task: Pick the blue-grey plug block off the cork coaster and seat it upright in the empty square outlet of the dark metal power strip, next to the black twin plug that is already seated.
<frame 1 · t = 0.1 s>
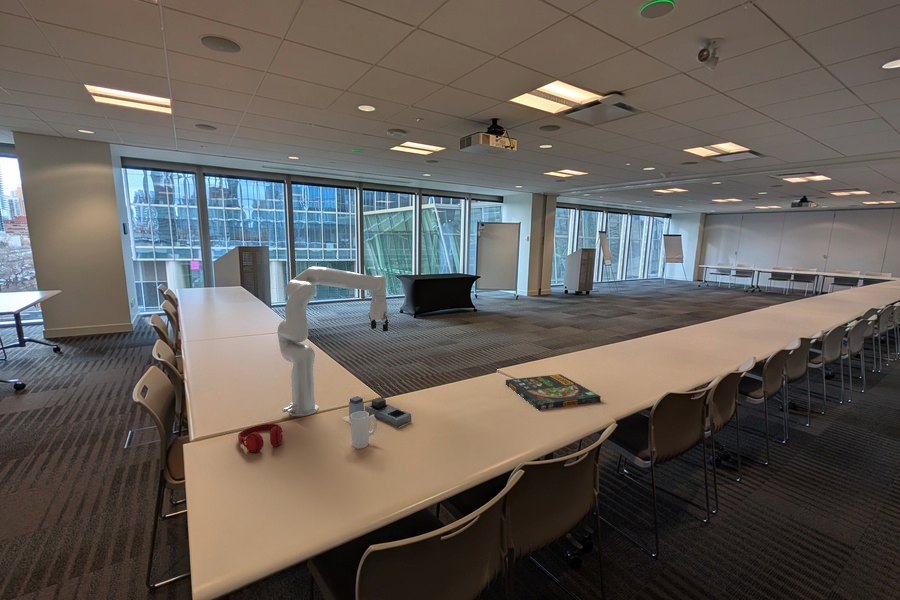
hand: (379, 329, 204), 31 cm above the table, fingers open, 9 cm apart
mug: (364, 444, 146), on the table
pdu strip: (387, 417, 169), on the table
pizza box: (550, 394, 200), on the table
headphones: (261, 441, 147), on the table
coaster: (356, 418, 167), on the table
plug: (356, 408, 166), on the coaster
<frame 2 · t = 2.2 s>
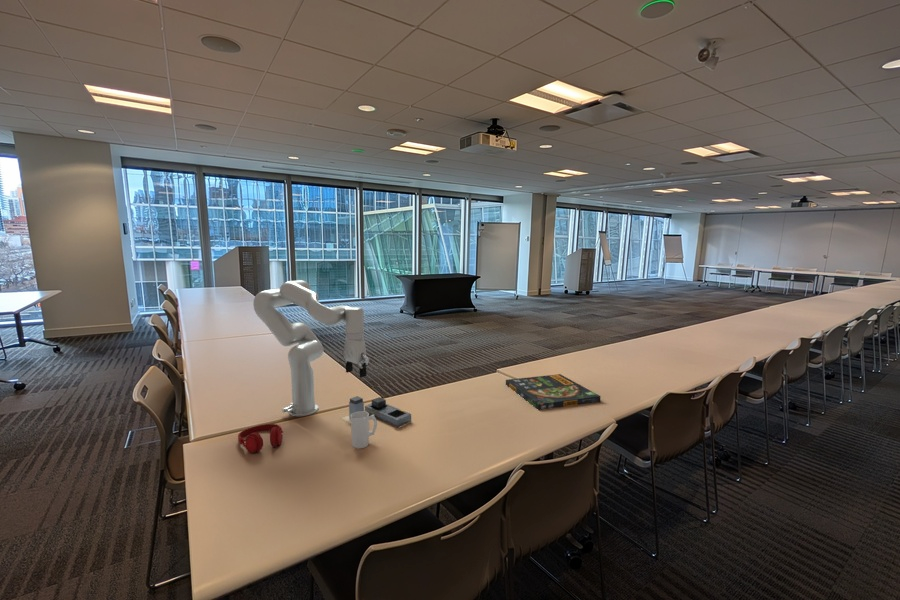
hand: (356, 374, 164), 20 cm above the table, fingers open, 9 cm apart
nothing on the table moved.
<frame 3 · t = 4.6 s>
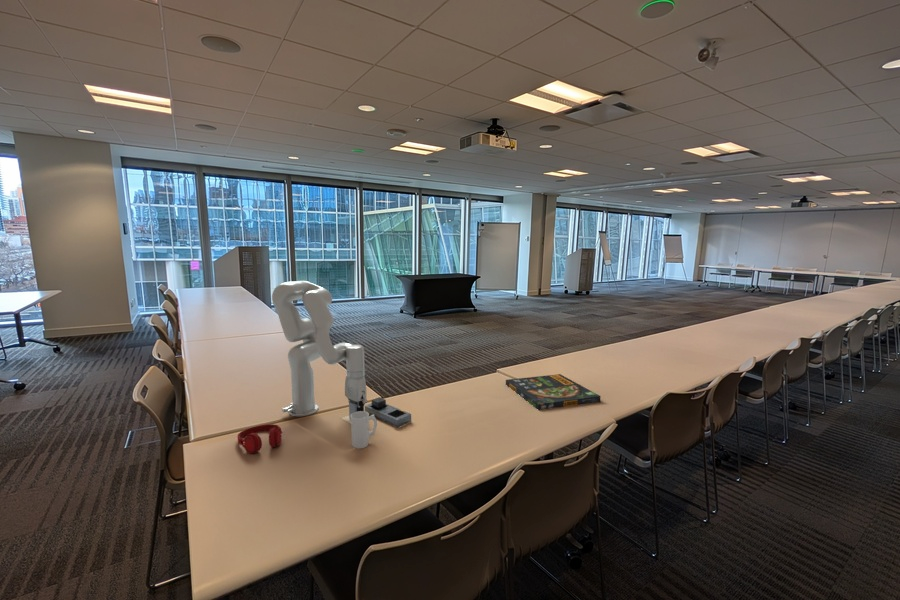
hand: (356, 412, 167), 3 cm above the table, fingers closed on plug, 4 cm apart
plug: (356, 408, 166), on the coaster, touching gripper
everything else where it was.
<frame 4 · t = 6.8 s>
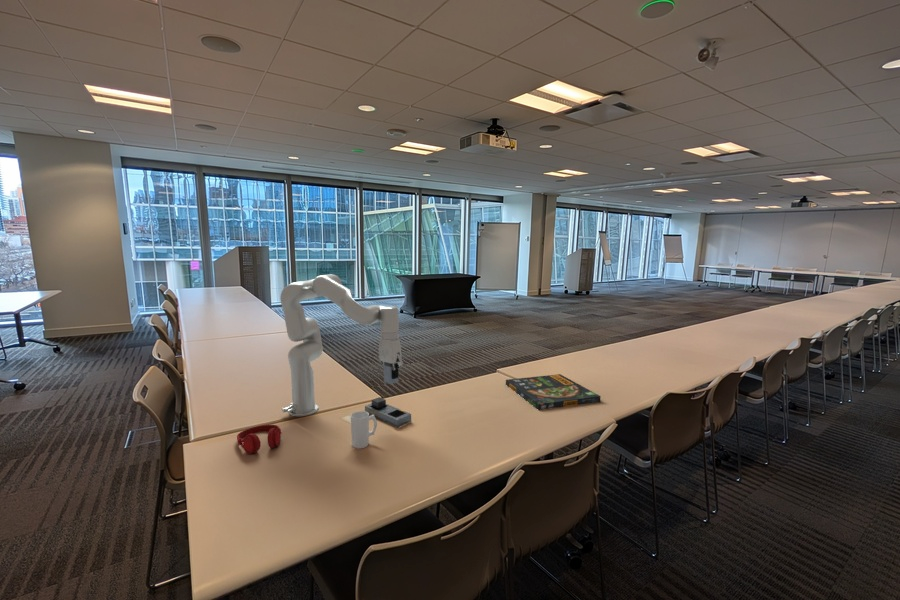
hand: (391, 376, 162), 20 cm above the table, fingers closed on plug, 4 cm apart
plug: (391, 371, 162), point 22 cm above the table, touching gripper
everything else where it was.
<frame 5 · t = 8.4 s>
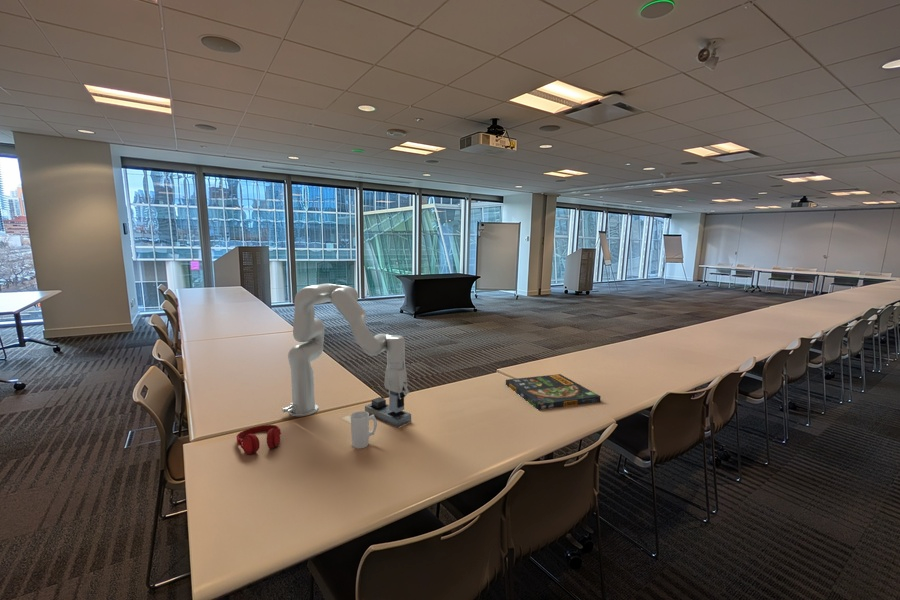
hand: (396, 404, 164), 8 cm above the table, fingers closed on plug, 4 cm apart
plug: (396, 399, 164), point 10 cm above the table, touching gripper
when the fingers open (4 cm above the table, at t = 9.3 s): plug drops 1 cm, resting on pdu strip.
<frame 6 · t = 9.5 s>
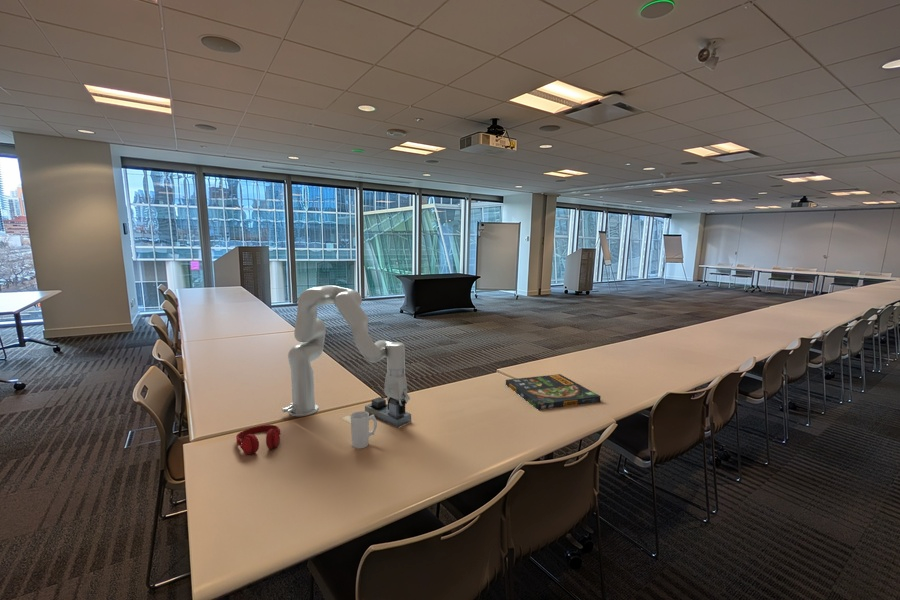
hand: (396, 410, 164), 5 cm above the table, fingers open, 6 cm apart
plug: (396, 409, 164), point 6 cm above the table, touching pdu strip
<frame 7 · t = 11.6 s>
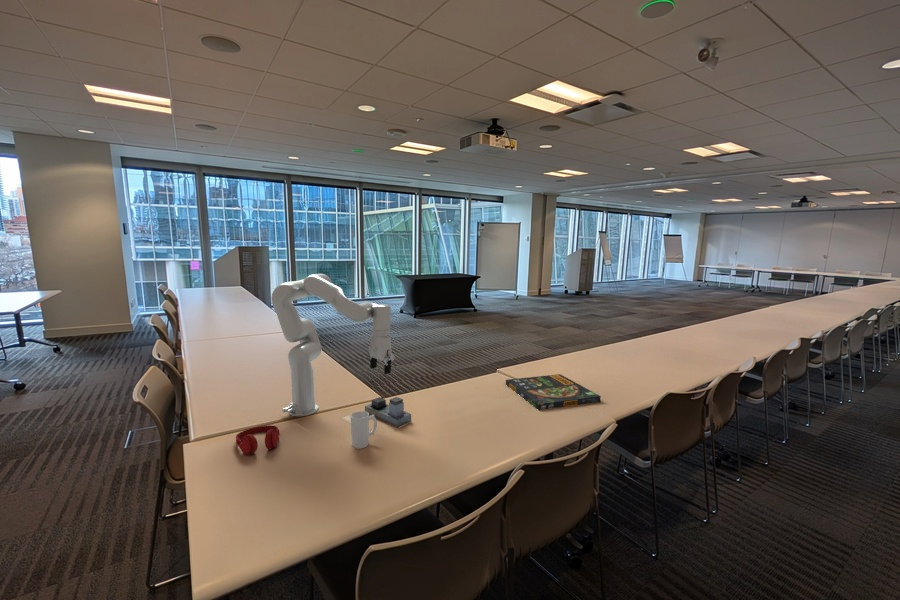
hand: (380, 370, 166), 21 cm above the table, fingers open, 9 cm apart
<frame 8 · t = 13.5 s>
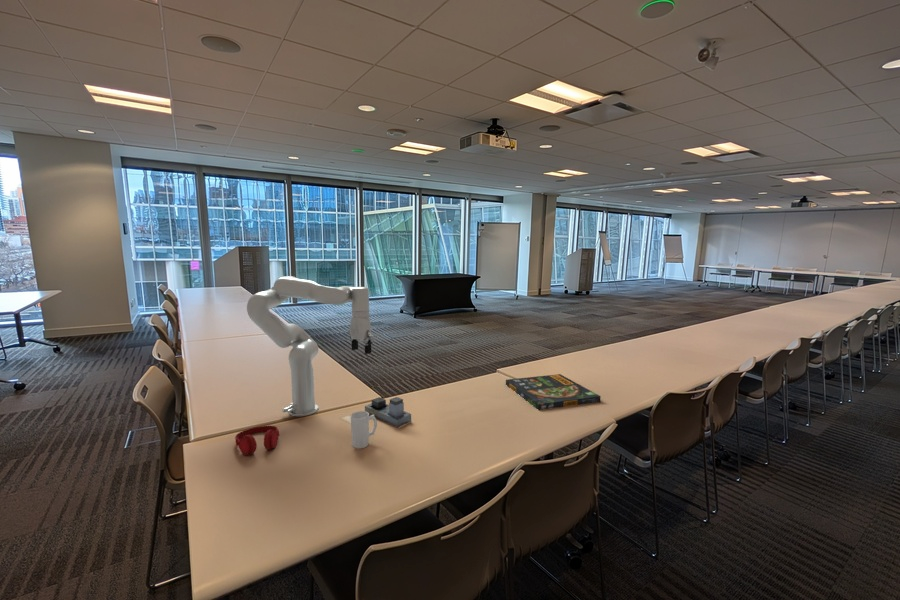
hand: (361, 351, 172), 28 cm above the table, fingers open, 9 cm apart
at the end: plug 0.1 cm from the target spot on the pdu strip, point 5.5 cm above the pdu strip's base; plug tilted 0°; the gripper is holding nothing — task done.
